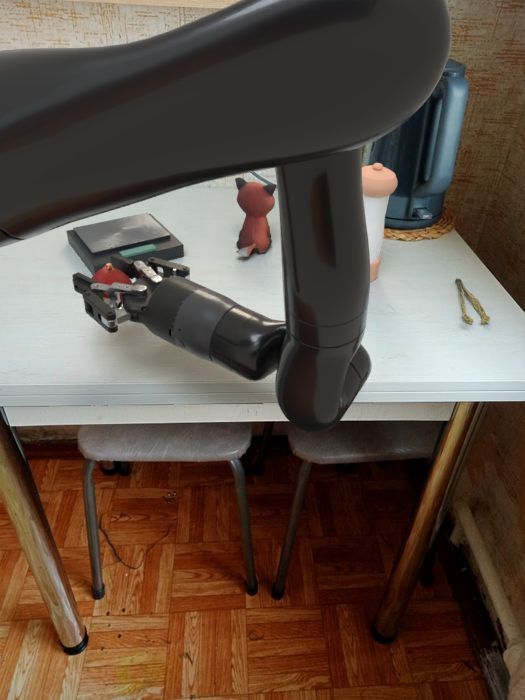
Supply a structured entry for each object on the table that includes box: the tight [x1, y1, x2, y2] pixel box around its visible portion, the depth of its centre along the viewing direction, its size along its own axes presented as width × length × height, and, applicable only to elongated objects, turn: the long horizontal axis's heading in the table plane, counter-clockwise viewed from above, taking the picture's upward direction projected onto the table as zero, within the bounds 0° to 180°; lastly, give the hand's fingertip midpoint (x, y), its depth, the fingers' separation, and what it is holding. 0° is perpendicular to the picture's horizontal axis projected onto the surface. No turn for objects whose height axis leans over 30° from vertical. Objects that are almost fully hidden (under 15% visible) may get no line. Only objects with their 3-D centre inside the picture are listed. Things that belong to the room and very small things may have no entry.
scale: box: [66, 212, 185, 276], centre depth 90 cm, size 16×14×3 cm
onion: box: [91, 263, 133, 302], centre depth 65 cm, size 6×6×8 cm
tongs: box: [454, 277, 491, 325], centre depth 84 cm, size 4×13×2 cm, turn 2°
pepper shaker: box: [362, 162, 399, 283], centre depth 84 cm, size 7×7×19 cm
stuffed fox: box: [234, 177, 277, 258], centre depth 90 cm, size 8×11×12 cm
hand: (94, 270), depth 64 cm, fingers closed on onion, 5 cm apart
